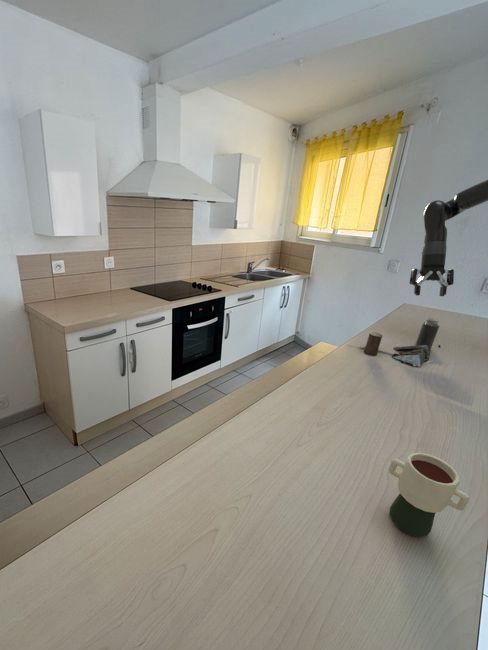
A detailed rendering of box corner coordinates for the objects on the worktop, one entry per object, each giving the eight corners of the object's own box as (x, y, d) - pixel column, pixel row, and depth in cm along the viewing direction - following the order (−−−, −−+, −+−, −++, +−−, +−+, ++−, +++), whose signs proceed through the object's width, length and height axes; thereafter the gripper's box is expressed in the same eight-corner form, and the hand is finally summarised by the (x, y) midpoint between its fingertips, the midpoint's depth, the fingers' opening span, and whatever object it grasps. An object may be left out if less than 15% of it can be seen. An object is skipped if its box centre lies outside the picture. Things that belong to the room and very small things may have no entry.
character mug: (448, 531, 56) (478, 476, 51) (440, 559, 52) (472, 502, 47) (381, 492, 63) (401, 440, 58) (368, 514, 59) (389, 459, 54)
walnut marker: (376, 352, 125) (382, 333, 122) (376, 356, 121) (382, 337, 118) (363, 349, 127) (369, 331, 124) (363, 354, 123) (369, 334, 120)
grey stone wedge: (383, 358, 122) (414, 347, 111) (390, 348, 125) (420, 337, 115) (400, 378, 121) (432, 369, 111) (406, 367, 125) (438, 358, 114)
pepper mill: (427, 352, 128) (440, 318, 122) (429, 357, 124) (442, 322, 118) (412, 348, 130) (423, 316, 125) (413, 353, 126) (425, 320, 120)
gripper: (417, 252, 125) (413, 294, 126) (460, 252, 121) (455, 295, 123) (409, 256, 132) (405, 295, 133) (449, 256, 129) (445, 297, 130)
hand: (429, 295), depth 128 cm, fingers open, 8 cm apart
